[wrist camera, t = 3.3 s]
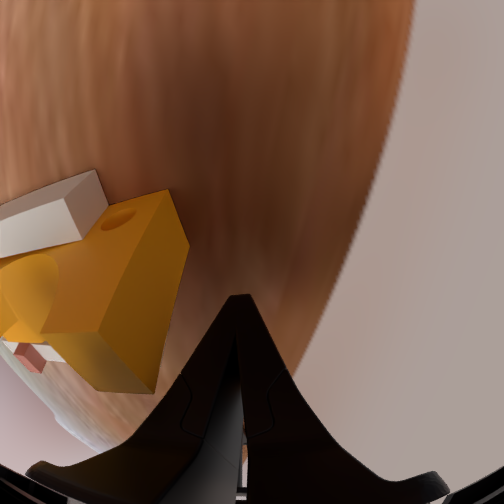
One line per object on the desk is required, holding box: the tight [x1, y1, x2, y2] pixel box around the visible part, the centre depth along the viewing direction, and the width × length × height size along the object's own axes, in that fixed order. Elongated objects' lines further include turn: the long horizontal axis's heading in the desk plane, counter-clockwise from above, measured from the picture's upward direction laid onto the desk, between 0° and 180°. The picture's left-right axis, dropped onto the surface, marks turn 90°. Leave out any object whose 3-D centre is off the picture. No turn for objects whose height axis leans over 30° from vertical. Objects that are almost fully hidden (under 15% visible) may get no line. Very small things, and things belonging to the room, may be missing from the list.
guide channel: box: [0, 169, 168, 373], centre depth 11 cm, size 9×12×3 cm
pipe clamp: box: [0, 189, 190, 394], centre depth 10 cm, size 12×4×6 cm, turn 102°
